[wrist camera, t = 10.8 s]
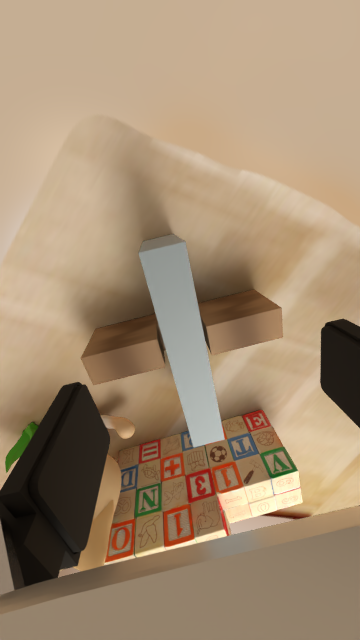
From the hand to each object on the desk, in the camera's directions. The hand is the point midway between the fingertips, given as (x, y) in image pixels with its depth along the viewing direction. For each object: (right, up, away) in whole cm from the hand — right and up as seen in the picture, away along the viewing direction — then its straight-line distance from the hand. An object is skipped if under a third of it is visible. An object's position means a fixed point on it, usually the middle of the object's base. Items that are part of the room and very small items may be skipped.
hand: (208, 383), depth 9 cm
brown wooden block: (-1, +2, +17) cm, 17 cm away
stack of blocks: (+1, -16, +26) cm, 30 cm away
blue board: (-1, +2, +17) cm, 17 cm away
